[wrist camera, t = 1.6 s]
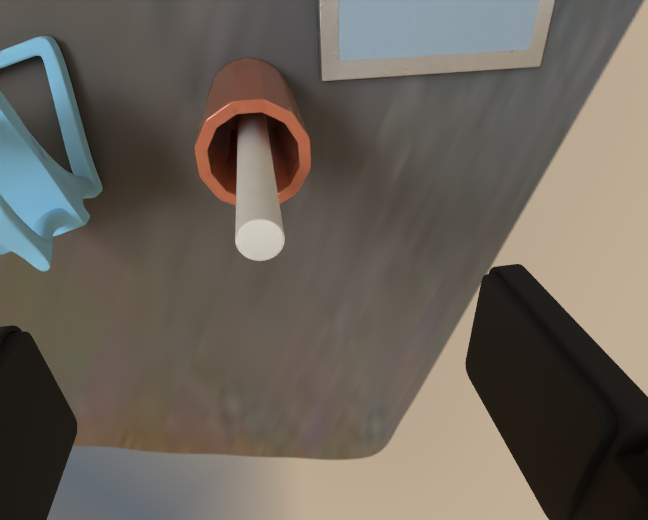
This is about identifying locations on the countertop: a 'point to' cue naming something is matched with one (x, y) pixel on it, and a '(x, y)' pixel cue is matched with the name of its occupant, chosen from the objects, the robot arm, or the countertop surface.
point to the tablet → (429, 36)
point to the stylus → (256, 192)
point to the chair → (42, 166)
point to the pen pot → (222, 128)
